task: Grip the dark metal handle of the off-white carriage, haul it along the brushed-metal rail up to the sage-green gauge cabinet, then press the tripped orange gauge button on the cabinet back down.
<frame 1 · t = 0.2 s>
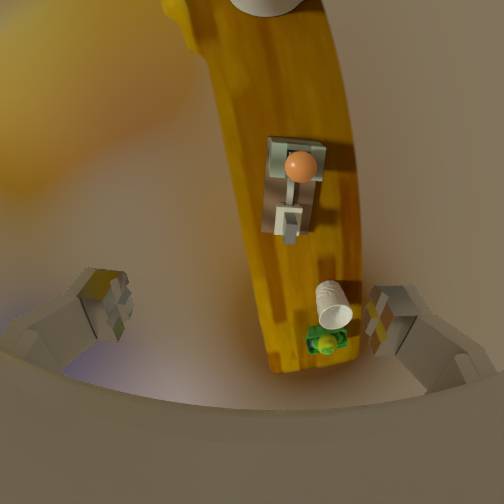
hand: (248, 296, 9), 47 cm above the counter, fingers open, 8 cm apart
fruit basket: (324, 328, 76), on the counter
rail bed: (289, 186, 55), on the counter
gauge button: (299, 164, 43), point 10 cm above the counter, slide at 0.0 cm
carriage: (288, 225, 53), point 6 cm above the counter, slide at 0.0 cm
white cup: (328, 289, 69), on the counter
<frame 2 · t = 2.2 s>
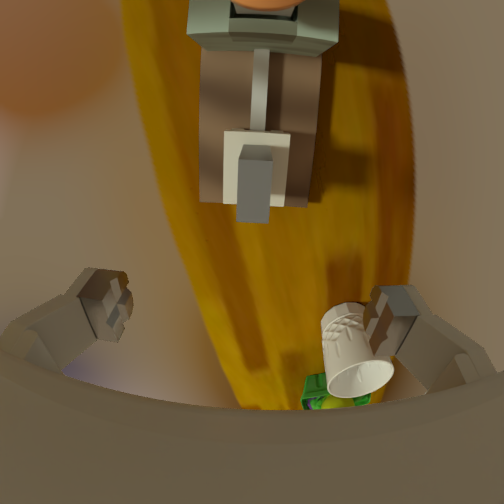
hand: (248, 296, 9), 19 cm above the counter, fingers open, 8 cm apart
fruit basket: (332, 375, 43), on the counter
rail bed: (259, 95, 22), on the counter
carriage: (255, 174, 20), point 6 cm above the counter, slide at 0.0 cm
white cup: (344, 319, 35), on the counter
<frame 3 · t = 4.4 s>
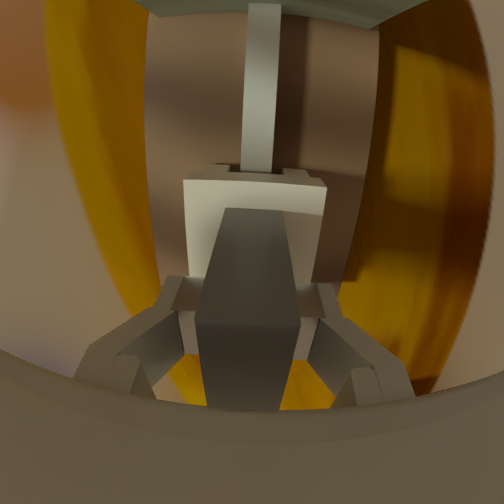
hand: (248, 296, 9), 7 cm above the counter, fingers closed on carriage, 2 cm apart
rail bed: (259, 97, 11), on the counter
carriage: (249, 281, 9), point 6 cm above the counter, slide at 0.0 cm, touching gripper
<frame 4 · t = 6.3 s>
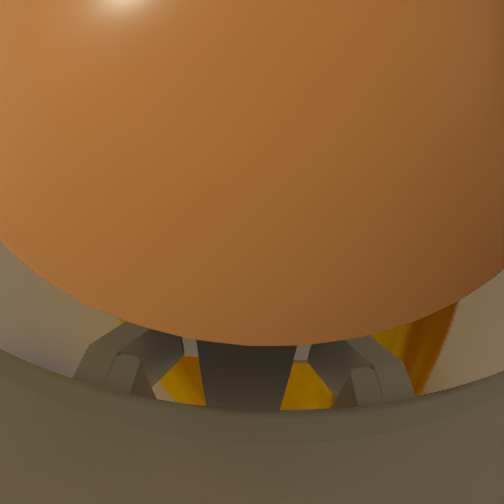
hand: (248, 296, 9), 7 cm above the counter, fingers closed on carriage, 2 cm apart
carriage: (249, 284, 9), point 6 cm above the counter, slide at 6.0 cm, touching gripper
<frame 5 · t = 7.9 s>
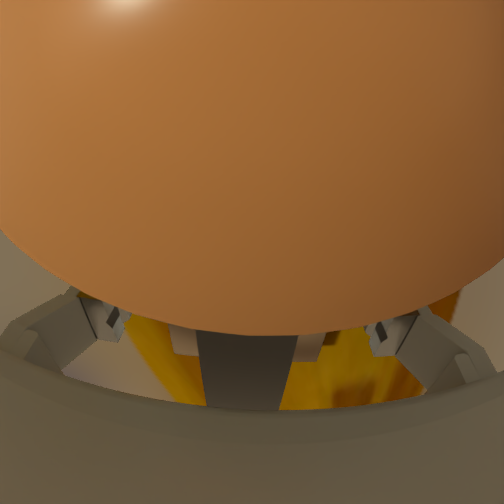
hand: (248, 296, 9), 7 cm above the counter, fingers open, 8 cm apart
rail bed: (253, 214, 14), on the counter
carriage: (249, 281, 9), point 6 cm above the counter, slide at 6.0 cm
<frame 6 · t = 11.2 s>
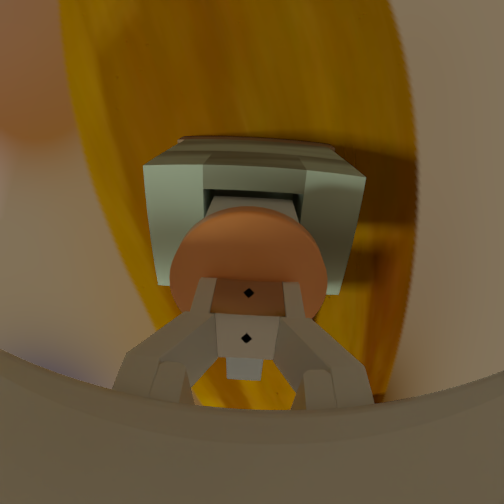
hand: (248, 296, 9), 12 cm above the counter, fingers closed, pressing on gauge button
rail bed: (250, 263, 23), on the counter
gauge button: (249, 257, 10), point 10 cm above the counter, slide at 0.1 cm, touching gripper
carriage: (247, 312, 18), point 6 cm above the counter, slide at 6.0 cm
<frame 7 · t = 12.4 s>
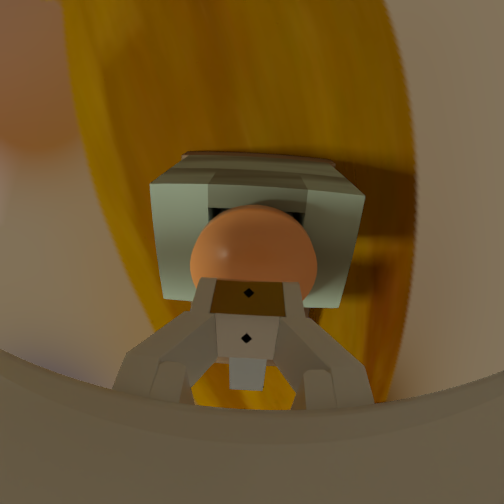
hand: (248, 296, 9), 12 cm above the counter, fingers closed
rail bed: (252, 276, 23), on the counter
gauge button: (254, 248, 13), point 8 cm above the counter, slide at 2.2 cm
carriage: (249, 324, 18), point 6 cm above the counter, slide at 6.0 cm
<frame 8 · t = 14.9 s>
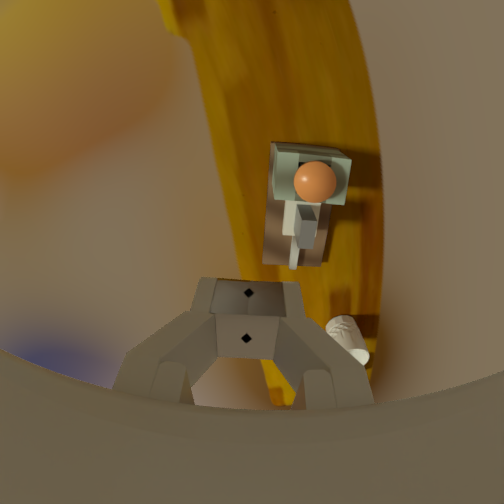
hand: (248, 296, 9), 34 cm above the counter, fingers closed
rail bed: (298, 206, 43), on the counter
gauge button: (312, 178, 33), point 8 cm above the counter, slide at 2.2 cm
carriage: (303, 222, 38), point 6 cm above the counter, slide at 6.0 cm
white cup: (340, 325, 57), on the counter
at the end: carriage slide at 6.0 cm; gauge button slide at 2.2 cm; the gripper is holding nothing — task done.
